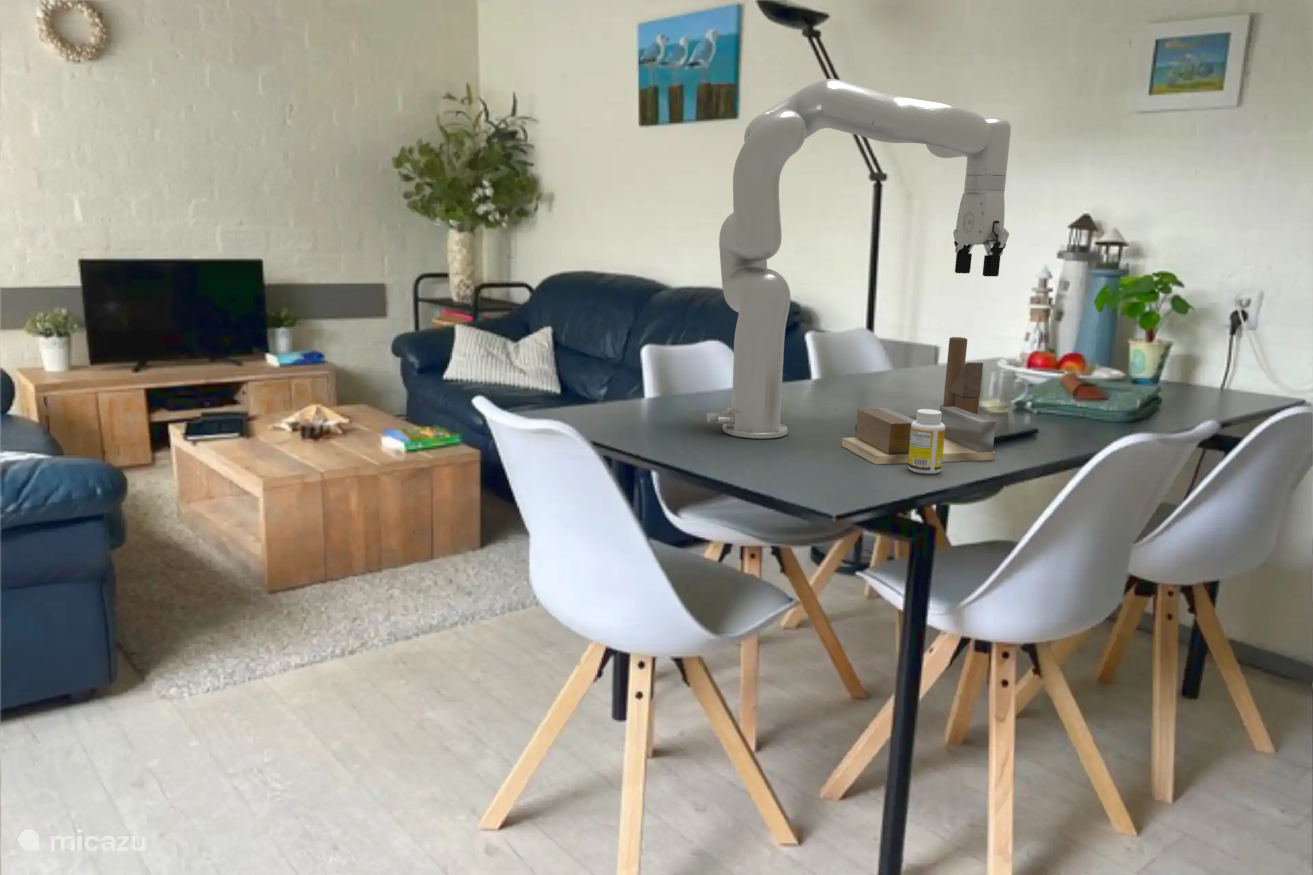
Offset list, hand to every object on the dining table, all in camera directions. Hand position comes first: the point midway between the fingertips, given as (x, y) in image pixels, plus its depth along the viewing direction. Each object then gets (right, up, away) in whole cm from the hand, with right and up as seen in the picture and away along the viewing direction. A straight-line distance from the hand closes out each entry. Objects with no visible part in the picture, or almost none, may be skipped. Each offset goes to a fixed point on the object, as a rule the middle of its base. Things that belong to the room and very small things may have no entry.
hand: (976, 274), depth 193 cm
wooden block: (-2, -30, +7) cm, 31 cm away
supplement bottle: (-18, -38, -29) cm, 51 cm away
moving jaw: (-22, -34, -18) cm, 44 cm away
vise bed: (-16, -35, -17) cm, 42 cm away
